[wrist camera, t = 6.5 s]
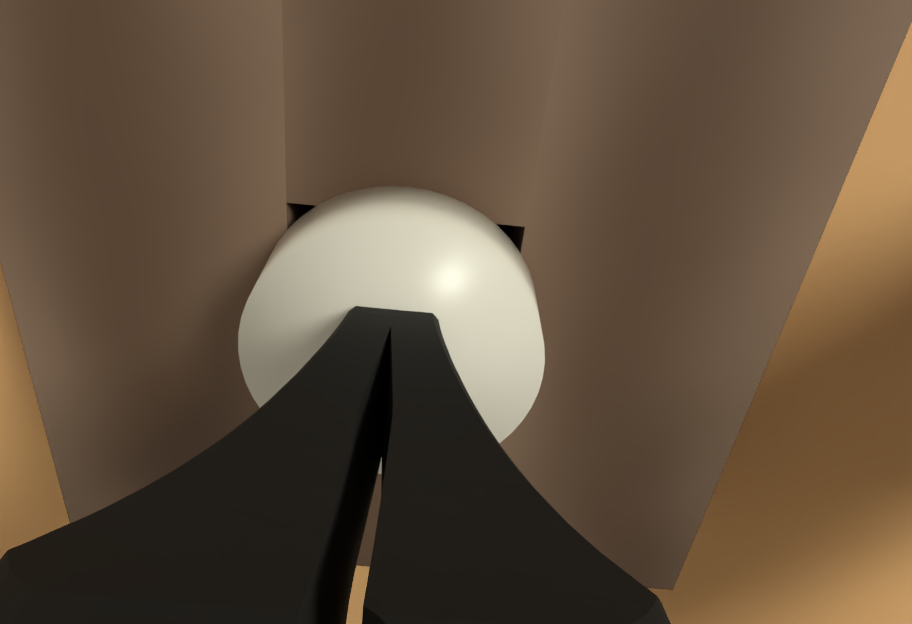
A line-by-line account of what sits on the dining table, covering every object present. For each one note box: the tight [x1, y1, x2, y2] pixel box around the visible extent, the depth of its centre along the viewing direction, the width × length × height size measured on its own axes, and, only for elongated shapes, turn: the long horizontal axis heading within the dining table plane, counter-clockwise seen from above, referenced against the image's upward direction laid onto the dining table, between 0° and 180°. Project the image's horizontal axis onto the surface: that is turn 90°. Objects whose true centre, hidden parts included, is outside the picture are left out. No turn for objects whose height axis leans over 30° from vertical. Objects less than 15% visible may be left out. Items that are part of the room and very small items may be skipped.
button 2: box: [238, 186, 545, 474], centre depth 13 cm, size 5×5×4 cm
